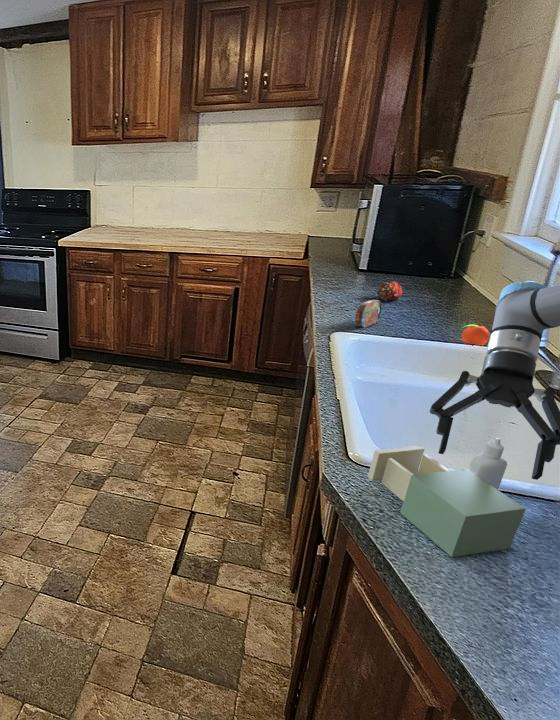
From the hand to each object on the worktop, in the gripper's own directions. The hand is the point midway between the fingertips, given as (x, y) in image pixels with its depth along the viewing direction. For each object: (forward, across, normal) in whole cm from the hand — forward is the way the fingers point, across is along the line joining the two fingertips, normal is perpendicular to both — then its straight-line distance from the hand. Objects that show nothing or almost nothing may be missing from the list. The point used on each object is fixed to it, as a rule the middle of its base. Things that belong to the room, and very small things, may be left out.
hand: (487, 464), depth 93 cm
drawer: (+8, -11, 0) cm, 14 cm away
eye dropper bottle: (+5, 0, +5) cm, 7 cm away
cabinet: (+14, -3, -5) cm, 15 cm away
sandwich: (-64, -32, +74) cm, 103 cm away
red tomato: (-61, -1, +71) cm, 93 cm away
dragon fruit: (-93, -29, +103) cm, 141 cm away
